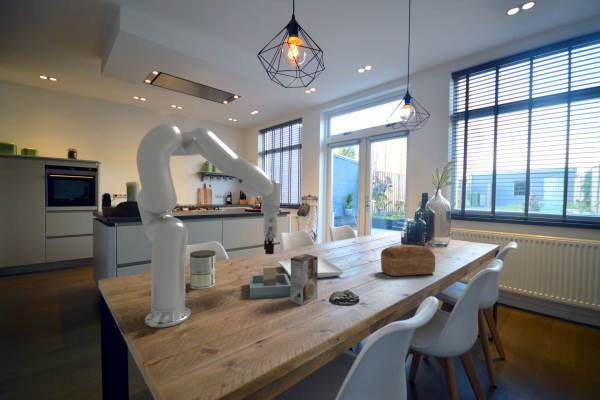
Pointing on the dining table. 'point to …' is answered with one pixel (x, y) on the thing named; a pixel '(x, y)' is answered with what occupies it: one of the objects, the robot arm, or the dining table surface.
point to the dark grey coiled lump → (344, 298)
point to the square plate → (323, 268)
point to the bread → (407, 260)
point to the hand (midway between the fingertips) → (268, 251)
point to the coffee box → (304, 278)
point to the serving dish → (269, 287)
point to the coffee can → (202, 269)
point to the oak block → (269, 275)
